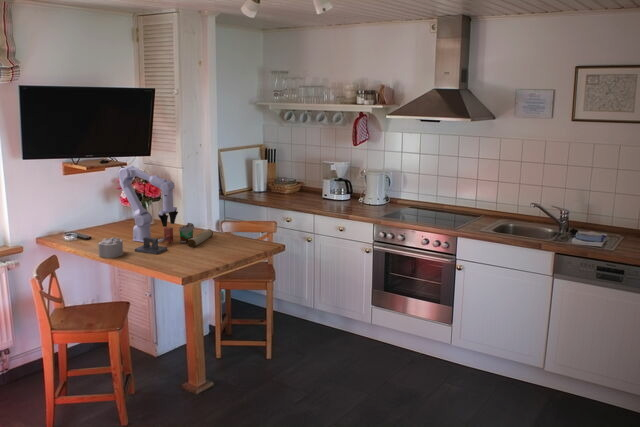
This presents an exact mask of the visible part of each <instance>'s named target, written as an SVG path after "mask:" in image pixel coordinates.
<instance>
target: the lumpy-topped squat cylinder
mask: <svg viewBox="0 0 640 427" xmlns="http://www.w3.org/2000/svg"><path fill="white" fill-rule="evenodd" d="M123 247H124V244H123V239H122V238H119V237H113V236H112V237H111V238H107V237H105V238H103V239H102V241H100V242H98V246H97V248H98V257H99V258H105V259H115V258H118V257H120V256H122V255H124V248H123Z"/></svg>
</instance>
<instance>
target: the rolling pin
mask: <svg viewBox="0 0 640 427" xmlns="http://www.w3.org/2000/svg"><path fill="white" fill-rule="evenodd" d="M213 232H214V231H213V230H212V229H210V228H208V229H205V230H204V231H202V232H200V233H199V234H197V235H195V236H193V238H191V239H189V241H188V243H187V244H186V245H187V247H189V248H195V247H196V246H199V245H200V244H201V243H203V242H205V241H206V240H208V239H209V238H211V237H213V235H214V233H213Z"/></svg>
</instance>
